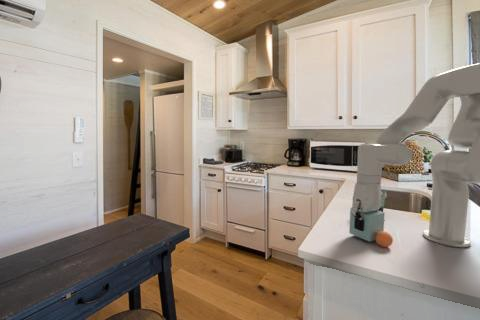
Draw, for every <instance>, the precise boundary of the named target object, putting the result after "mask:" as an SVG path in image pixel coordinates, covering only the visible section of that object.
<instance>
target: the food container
mask: <svg viewBox="0 0 480 320" xmlns="http://www.w3.org/2000/svg"><path fill="white" fill-rule="evenodd" d="M387 197H388V196H387V192H386V191H384V190H382V189H381V201H382V202H383V205H382V207H381V208H382V209H381V212H384V208H385V203H386V200H385V199H386V198H387Z"/></svg>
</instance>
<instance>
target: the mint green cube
mask: <svg viewBox="0 0 480 320" xmlns="http://www.w3.org/2000/svg"><path fill="white" fill-rule="evenodd" d="M360 210H362V209H360ZM358 213H359V214H360V215H361V212H358ZM363 220H364V231H360V230H357V229H355V228H354V223H355V218H354V216H353V214H352V212H351V209H350V211H349V232H348V233H349V234H350V235H353V236H355V237H358V238H360V239H362V240H365V241H366V242H373V241H376V240H375V236H376V234H377V233H378V232H380V231H384V228H385V227H384V226H385V212H384V211H383V212H381V211H371V212H367V213H365V214H364V217H363Z"/></svg>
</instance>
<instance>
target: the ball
mask: <svg viewBox="0 0 480 320" xmlns="http://www.w3.org/2000/svg"><path fill="white" fill-rule="evenodd" d="M393 240H394V238H393V236H392V235H391V234H390V233H389V232H388V231H380V232H378V233H377V234H376V236H375V240H374V241H375V242H376V243H377V244H378V246H380V247H384V248H388V247H390V246H392V245H393V242H394V241H393Z"/></svg>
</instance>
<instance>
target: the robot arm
mask: <svg viewBox="0 0 480 320" xmlns="http://www.w3.org/2000/svg"><path fill="white" fill-rule="evenodd" d="M455 98H460V103H461V105H460V108H459V111H458V112H457V113H458V114H457V116H456V117H455V120H454V122H453V125H452V127H451V128H450V132H449V134H448V139H447V140H448V143H449V144H450V145H451V146H453V147H455V148H462V149H469V151H466V150H453V149H452V150H450V149H448V150H442V151H439V152H438V153H436V154H435V155H434V156H433V157H432V159H431V161H430V171H431V172H430V173H431V177H432V185H431V187H432V191H431V200H430V211H429V212H430V213H429V225H428V226H429V227H428V229H425V230H423V232H422V235H423V237H424V238H425V239H427V240H429V241H431V242H434V243H437V244H440V245H442V246H447V247H456V248H467V247H470V246H471V242H472V241H471V239H469V238H467V237H466V227H467V218H468V208H469V199H470V190H469V186H468V183H471V184H480V62H478V63H474V64H473V63H472V64H470V65H466V66H462V67H458V68H455V69H451V70H448V71H446V72H443V73H439V74H436V75H433V76H432V77H430V78H429V79H427V80H426V81H425V82H424V84H423V86H422V87H421V89H420V90H419V92H418V93H417V94H416V96H415V97H414V98H413V100H412V101H411V103H410V104H409V106H408V107H407V108H406V110H405V111H404V112H403V114H401V115H400V116H399V117H398V118H397V119H395V120H394V121H393V122H392V123H391V124H390V125H388V127H386V128H385V129H384V131H383V132H381V134H380V136H379V137H378V138H377V140H376V141H375V143H362V144H360V145H358V147H357V165H356V182H355V185H354V190H353V193H352V194H353V196H352V206H351V207H350V210H351V212H352V214H353V216H354V218H355V223H354V228H355V229H357V230H360V231H364V220H363V217H364V214H365V213H367V212H371V211H381V209H382V208H381V207H382V205H383V202H382V201H381V190H382V172H383V171H382V170H383V165H389V166H404V165H406V164H408V163H409V162H410V161H411V159H412V158H413V152H412V151H413V150H412V149H411V147H409V146H407V145H406V144H404V143H401V142H402V141H403V140H405V139H406V138H407V137H409V136H410V135H412V134H414V133H417V132H418V131H421V130H422V129H425V128H427V127H429V126H430V125H431V124H432V123H433V122H435V121H434V120H436V118H437V117H438V115H439V113H440V112H441V111H442V109H443V108H444V107H445V105H446V104H447V102H448V101H449V100H450V99H455ZM360 209H362V210H360ZM358 212H361V215H360V214H359V213H358Z"/></svg>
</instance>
